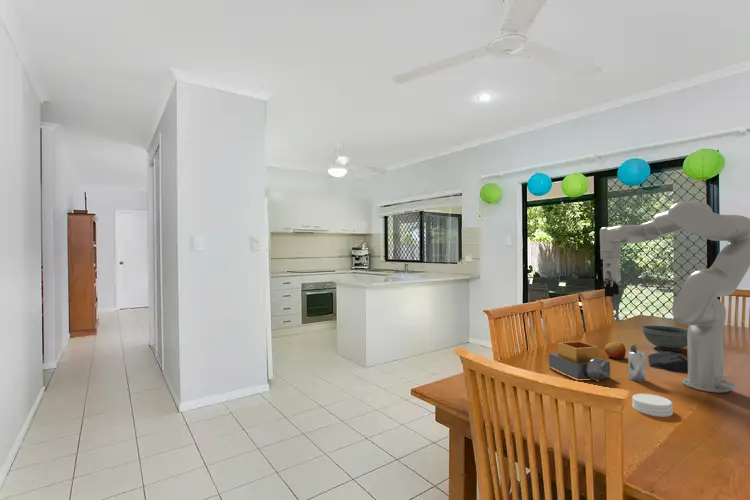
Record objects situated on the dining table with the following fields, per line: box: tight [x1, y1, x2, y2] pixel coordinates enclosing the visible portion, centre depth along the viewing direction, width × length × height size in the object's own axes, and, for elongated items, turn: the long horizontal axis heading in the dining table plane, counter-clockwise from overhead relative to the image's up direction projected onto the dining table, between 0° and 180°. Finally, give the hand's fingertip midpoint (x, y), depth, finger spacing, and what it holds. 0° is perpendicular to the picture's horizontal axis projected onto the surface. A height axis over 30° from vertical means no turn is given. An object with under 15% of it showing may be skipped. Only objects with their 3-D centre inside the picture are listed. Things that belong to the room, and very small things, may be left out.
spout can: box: [627, 344, 647, 383], centre depth 143 cm, size 5×5×12 cm
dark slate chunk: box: [647, 350, 688, 373], centre depth 161 cm, size 15×22×5 cm
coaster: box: [631, 393, 674, 418], centre depth 116 cm, size 10×10×4 cm
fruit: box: [604, 341, 626, 360], centre depth 172 cm, size 8×8×8 cm
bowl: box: [641, 325, 688, 352], centre depth 184 cm, size 21×21×10 cm
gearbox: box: [548, 340, 611, 381], centre depth 150 cm, size 18×14×11 cm
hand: (612, 295), depth 167 cm, fingers open, 9 cm apart
